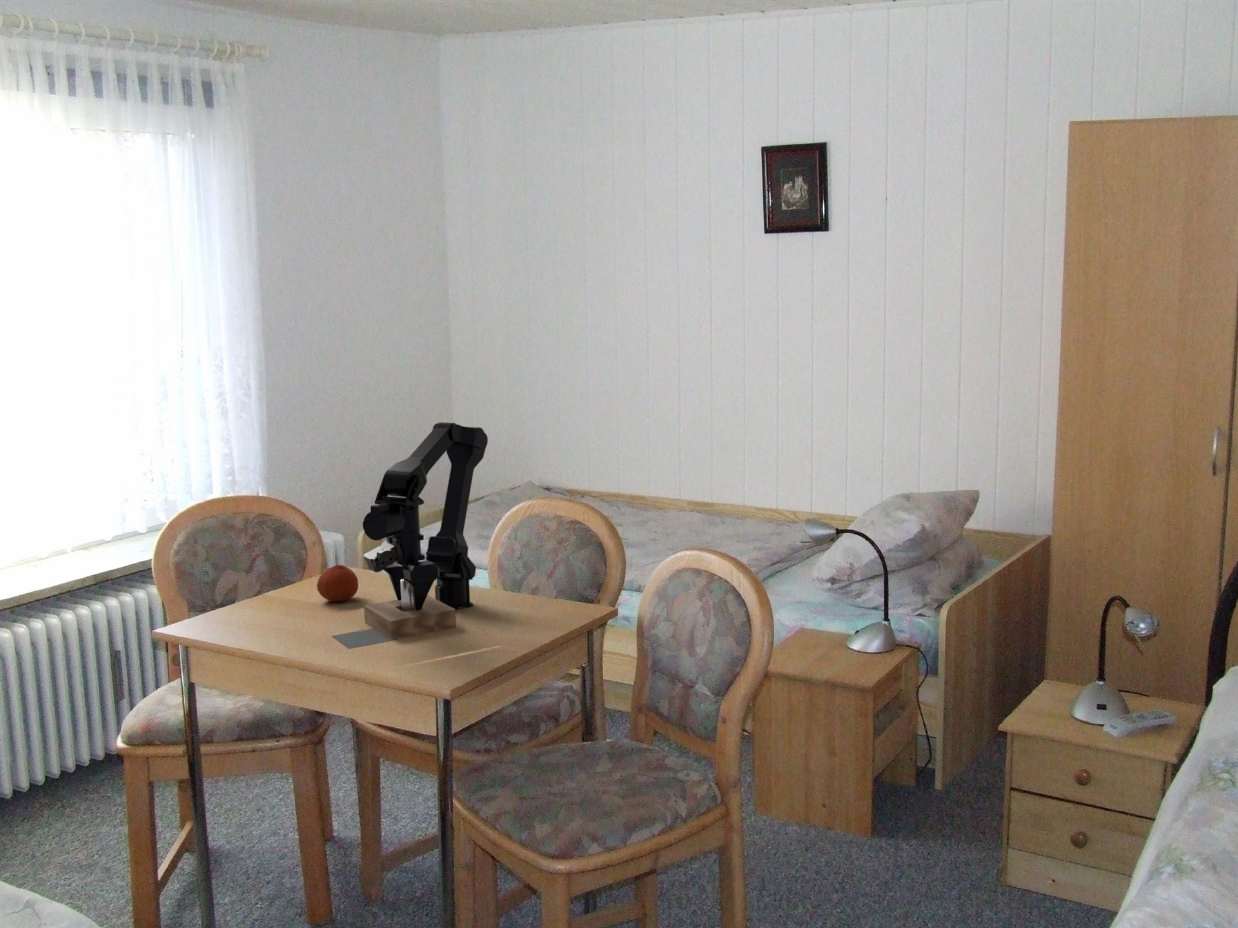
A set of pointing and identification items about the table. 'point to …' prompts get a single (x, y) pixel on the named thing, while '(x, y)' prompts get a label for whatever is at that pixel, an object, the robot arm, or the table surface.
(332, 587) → the fruit
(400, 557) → the robot arm
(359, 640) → the panel
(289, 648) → the table surface
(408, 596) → the peg
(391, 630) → the hole block
